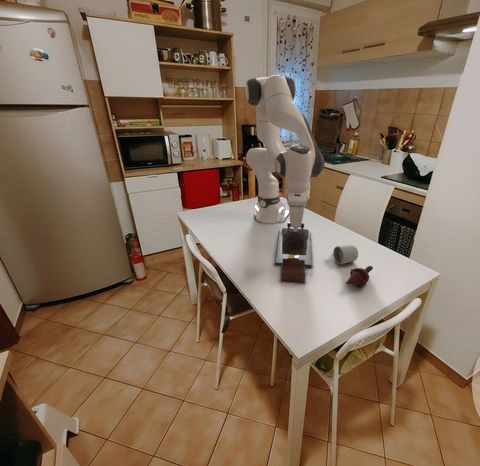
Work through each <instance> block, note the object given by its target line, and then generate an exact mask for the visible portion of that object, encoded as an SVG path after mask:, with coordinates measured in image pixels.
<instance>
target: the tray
mask: <svg viewBox="0 0 480 466" xmlns="http://www.w3.org/2000/svg"><path fill="white" fill-rule="evenodd" d="M282 230H283V228H280V229H279V235H278V242H277V248H276V255H275V259H274V260H275V261H274V266H276V267H282V260H283V259H288V255H290V254H282ZM311 242H312V241H311V231H310V229H308V243H307V252H306V255H298V256H299V259H298V260H305V269H307V268H308V269H312V267H313V261H312V260H313V259H312V247H311V246H312V245H311V244H312V243H311ZM292 259H294V256H293V258H292Z"/></svg>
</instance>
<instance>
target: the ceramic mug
mask: <svg viewBox="0 0 480 466" xmlns="http://www.w3.org/2000/svg"><path fill="white" fill-rule="evenodd" d="M332 254H333V259H334V261H335V262H336V264H338V265H343V264H347V263H348V264H349V263H353V262H356V261H357V260H358V257H359V251H358V248H357V247H356V246H355V245H353V244H346V245H345V244H344V245H336V246H334V248H333V252H332Z"/></svg>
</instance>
